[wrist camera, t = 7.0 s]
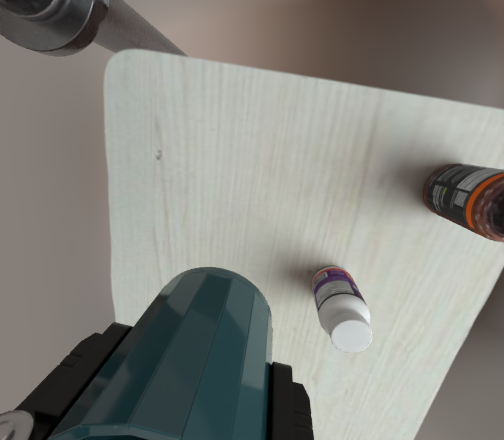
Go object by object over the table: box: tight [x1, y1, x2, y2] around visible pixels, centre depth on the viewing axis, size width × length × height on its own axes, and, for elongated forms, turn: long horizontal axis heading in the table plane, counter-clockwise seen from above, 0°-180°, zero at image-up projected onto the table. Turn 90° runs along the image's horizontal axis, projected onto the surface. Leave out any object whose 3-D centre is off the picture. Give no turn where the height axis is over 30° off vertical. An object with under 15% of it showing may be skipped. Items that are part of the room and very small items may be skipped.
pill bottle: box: [312, 266, 372, 353], centre depth 30 cm, size 5×5×10 cm
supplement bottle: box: [424, 164, 504, 242], centre depth 24 cm, size 6×6×11 cm
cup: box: [47, 267, 273, 440], centre depth 10 cm, size 6×6×7 cm
